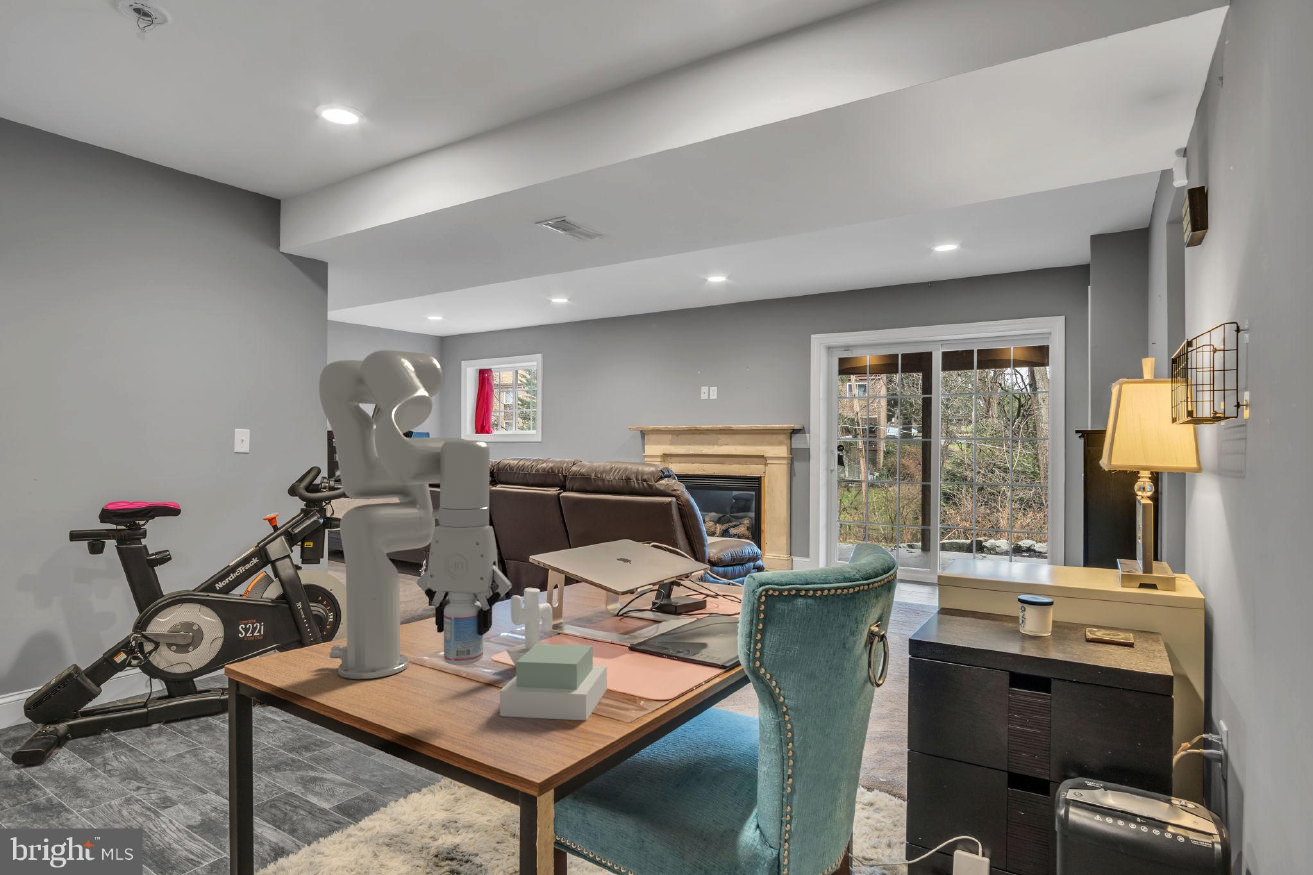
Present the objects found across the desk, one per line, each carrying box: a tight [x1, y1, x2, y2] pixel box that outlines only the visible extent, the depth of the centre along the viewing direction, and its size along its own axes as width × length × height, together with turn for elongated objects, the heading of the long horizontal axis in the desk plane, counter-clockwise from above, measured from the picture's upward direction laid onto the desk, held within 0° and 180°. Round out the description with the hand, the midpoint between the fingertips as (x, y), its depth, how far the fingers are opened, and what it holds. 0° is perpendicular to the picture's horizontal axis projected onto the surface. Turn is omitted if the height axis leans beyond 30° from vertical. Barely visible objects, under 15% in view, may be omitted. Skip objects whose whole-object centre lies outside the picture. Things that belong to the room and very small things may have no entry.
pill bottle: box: [443, 592, 484, 666], centre depth 111 cm, size 6×6×11 cm
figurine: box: [505, 587, 553, 667], centre depth 135 cm, size 7×9×15 cm
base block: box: [499, 664, 608, 721], centre depth 116 cm, size 14×14×4 cm
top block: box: [515, 643, 594, 689], centre depth 116 cm, size 10×10×4 cm
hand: (463, 630), depth 111 cm, fingers closed on pill bottle, 6 cm apart
